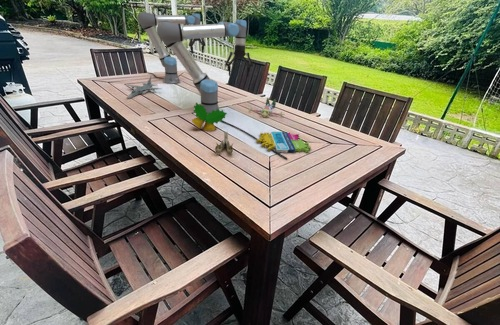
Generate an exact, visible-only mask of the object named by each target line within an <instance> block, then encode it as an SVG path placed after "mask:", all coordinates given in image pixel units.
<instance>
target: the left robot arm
mask: <svg viewBox="0 0 500 325" xmlns="http://www.w3.org/2000/svg"><path fill="white" fill-rule="evenodd" d="M136 18H137V23H138V24H139V25H140V26H141V29H142V30H143V31H144V32H146V34H147V36H148V38H149V39H150V41H151V43H152V45H153V47H154V48H155V51H156V52H157V54H158V56H159V57H158V59H159V61H160V64H161V66H162V67H163V68H164V73H165V75H164V77H158V76H156V74H154V73H152V72H150V71H149V72H148V71H147V70H144V71H143V73H147V74H151V75H153V76H154V77H155V78H157V79H161V80H163V83H165V84H169V85H170V84H172V85H173V84H174V85H175V84H180V82H181V80H180V78H179V74H178V61H177V57H175V56H171V53H169V52H168V51H167V49H166V46H165V44H164V42H163V41H162V40H161V39H160V38H159V36H158V33H157V29H156V28H155V27H158V25H159V24H160V23H161V22H163V21H168V22H170V23H173V24H181V25H201V14H200V13H194V12H193V13H191V15H190V14H180V15H179V14H156V13H151V12H146V11H140V12H139V13H138V14H137V17H136ZM196 42H199V44H200V45H201V54H204V53H205V47H206V43H205V38H197V39H189V43H188V46H189V48H190V54H191V55H193V54H194V45H195V43H196Z"/></svg>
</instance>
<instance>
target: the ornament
mask: <svg viewBox="0 0 500 325" xmlns="http://www.w3.org/2000/svg"><path fill="white" fill-rule="evenodd" d="M219 110H220V108H219V109H217V110H216V111H214V110H212V112H211V113H208V112H206V109H204V106H201V103H198V102H195V105H194V106H193V112H194V113H195V118H192V119H191V122H192V123H193V125H195V127H197V128H198V129H202V130H203V131H206V132H212V131H213V132H214V131H215V130H216V126H215V124H218V123H219V122H222V121H223V119H226V115H227V114H228V113H227V112H224V110H223V109H221V110H220V111H219ZM207 113H208V115H207ZM214 123H215V124H214ZM222 123H223V122H222Z"/></svg>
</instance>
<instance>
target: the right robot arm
mask: <svg viewBox="0 0 500 325" xmlns="http://www.w3.org/2000/svg"><path fill="white" fill-rule="evenodd" d="M247 25H248V24H247V20H245V19H236V20H235V21H234V22H229V21H227V22H226V21H219V22H218V23H204V24H203V23H202V24H200V25H186V24H173V23H170V22H168V21H163V22H161V23H160V24H158V25H157V26H156V32H157V34H158V36H159V38H160V40H161V41H162V43H163V45H164V46H165V48H167V49H169V50H171V51H172V52H173V54H174V55H175V57H176V59H177V60H178V61H179V63H181V65H182V66H183V68H184V69H185V70H186V72H187V73H188V75H189V76H190V77H191V79H192V84H193V85H194V87H195V88H196V90H197V91H198V92H199V94H200V104H201V106H204V109H206V112H208V113H211V112H212V110H214V111H216V110H217V109H219V111H221V110H220V108H219V102H218V99H219V98H218V97H219V85H218V82H217V81H216V80H214V79H212V80H210V79H211V78H210V77H209V76H208V74H207V73H206V72H203V70H202V69H201V67H200V66H199V65H198V63H197V61H196V60H195V58H194V57H193V56H192V53H191V52H190V51H189V50H188V48H187V47H186V46H185V44H184V43H183V42H184V41H185V40H190V39H197V38H200V39H201V38H203V39H210V38H211V39H212V38H226V37H231V38H234V51H229V55H228V57H227V59H226V61H225V63H224V65H225V66H226V67H227V72H228V76H229V77H231V67H232V66H231V65H232V64H233V63H234V62H235V60H243V61H244V62H245V64H246V65H247V66H246V77H249V75H250V74H249V72H250V73H251V67H253V66H254V65H253V62H252V59H251V57H250V52H246V42H247V41H246V40H247V39H246V38H247ZM233 55H234V56H233ZM232 56H233V57H232ZM245 56H246V57H247V59H246V57H245ZM231 58H232V59H231ZM213 80H214V81H213ZM208 113H207V115H208ZM222 123H224V124H227V125H228V126H231V127H233V128H235V129H236V130H239V131H241V132H243V133H245V134H247V135H248V136H249V137H251V138H253V139H254V140H256V141H257V139H258V138H257V137H256V136H254V135H252V134H251V133H249V132H247V131H246V130H244V129H242V128H239V127H238V126H237V125H236V126H235V125H234V124H231V123H229V122H226V121H224V120H222ZM262 143H263V142H261V143H260V144H262ZM268 147H269V146H268ZM270 151H272V152H274V153H275V154H277V155H279V156H280V157H281V158H283V159H285V160H288V157H287V156H285V155H283V154H281V153H280V152H276V149H275V150H274V149H271V150H270Z"/></svg>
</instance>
